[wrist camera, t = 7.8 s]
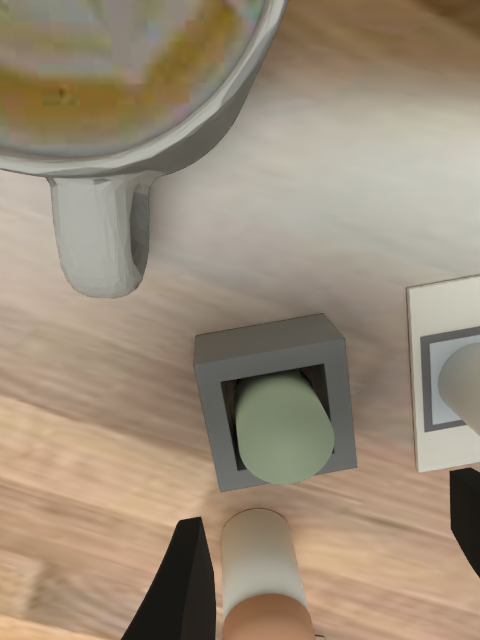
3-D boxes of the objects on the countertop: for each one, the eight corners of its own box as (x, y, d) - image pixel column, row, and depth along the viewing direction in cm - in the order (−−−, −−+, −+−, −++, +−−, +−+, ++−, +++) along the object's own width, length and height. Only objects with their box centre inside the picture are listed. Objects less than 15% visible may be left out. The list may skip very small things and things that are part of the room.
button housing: (335, 425, 23) (357, 467, 19) (218, 446, 23) (220, 492, 19) (322, 313, 21) (344, 338, 18) (195, 335, 21) (193, 365, 18)
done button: (317, 427, 21) (339, 475, 17) (240, 441, 21) (246, 491, 17) (308, 355, 20) (329, 391, 16) (227, 370, 20) (231, 409, 16)
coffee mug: (-3, -156, 15) (-349, -711, 6) (280, -72, 17) (379, -415, 7) (-21, 235, 19) (-252, 289, 9) (211, 279, 20) (215, 368, 11)
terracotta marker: (295, 559, 25) (325, 696, 19) (226, 571, 25) (231, 713, 18) (287, 502, 24) (316, 626, 17) (214, 514, 24) (215, 644, 17)
